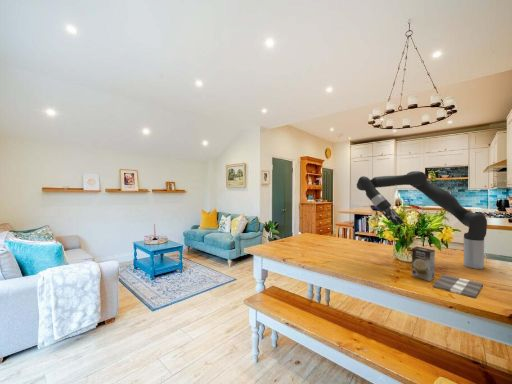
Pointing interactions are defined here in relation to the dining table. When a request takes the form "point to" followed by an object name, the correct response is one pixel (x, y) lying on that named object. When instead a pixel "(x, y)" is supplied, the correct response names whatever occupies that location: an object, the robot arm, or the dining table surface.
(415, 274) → the coffee box
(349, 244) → the dining table surface
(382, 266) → the dining table surface
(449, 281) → the grey white flat rectangle
